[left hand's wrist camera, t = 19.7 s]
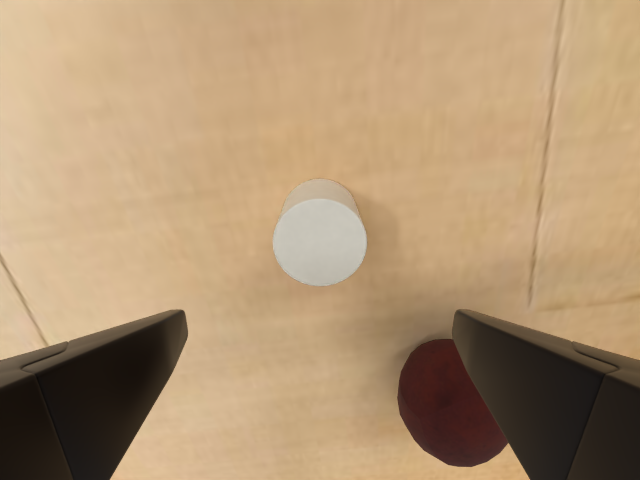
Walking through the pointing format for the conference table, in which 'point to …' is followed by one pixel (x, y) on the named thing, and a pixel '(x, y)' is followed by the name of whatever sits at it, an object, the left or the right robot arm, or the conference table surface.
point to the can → (319, 234)
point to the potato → (447, 407)
